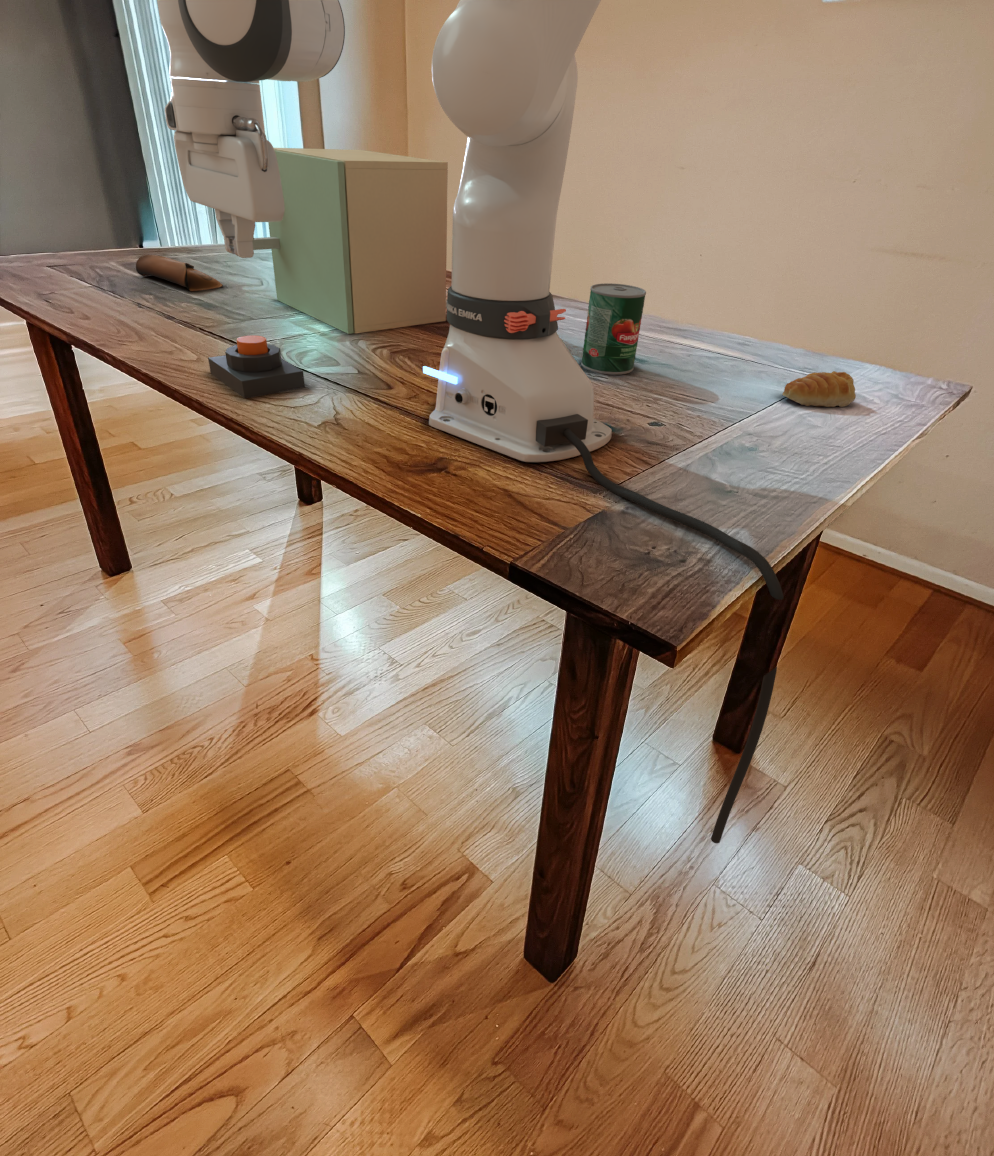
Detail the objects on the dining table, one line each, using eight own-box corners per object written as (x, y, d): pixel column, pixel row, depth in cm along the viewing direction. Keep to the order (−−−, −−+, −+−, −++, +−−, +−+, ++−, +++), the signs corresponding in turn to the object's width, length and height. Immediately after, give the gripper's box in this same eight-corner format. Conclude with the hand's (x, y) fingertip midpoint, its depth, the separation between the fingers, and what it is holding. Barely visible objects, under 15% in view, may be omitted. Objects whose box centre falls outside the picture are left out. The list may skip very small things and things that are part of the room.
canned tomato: (629, 377, 100) (642, 297, 94) (576, 370, 102) (585, 291, 96) (636, 363, 106) (649, 287, 100) (586, 356, 108) (595, 281, 102)
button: (272, 354, 88) (271, 340, 87) (245, 358, 86) (243, 344, 85) (261, 347, 90) (259, 334, 89) (233, 351, 88) (231, 337, 87)
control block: (305, 388, 89) (301, 356, 87) (244, 399, 85) (239, 366, 82) (268, 365, 96) (264, 335, 94) (210, 374, 91) (205, 343, 89)
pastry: (800, 410, 92) (809, 382, 90) (769, 394, 97) (776, 367, 95) (856, 406, 95) (866, 379, 93) (823, 390, 100) (831, 364, 98)
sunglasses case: (227, 284, 133) (205, 253, 128) (202, 308, 131) (179, 278, 126) (175, 269, 142) (153, 240, 137) (151, 292, 140) (128, 263, 135)
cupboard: (355, 334, 111) (345, 160, 98) (283, 300, 127) (266, 147, 114) (445, 321, 121) (447, 162, 108) (368, 291, 137) (362, 150, 124)
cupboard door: (315, 338, 107) (299, 161, 94) (246, 303, 124) (224, 147, 110) (353, 333, 111) (343, 161, 98) (282, 299, 127) (265, 148, 114)
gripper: (291, 120, 69) (305, 269, 77) (213, 112, 82) (232, 240, 90) (229, 117, 66) (250, 273, 74) (158, 109, 79) (182, 243, 86)
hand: (240, 255), depth 82 cm, fingers closed
